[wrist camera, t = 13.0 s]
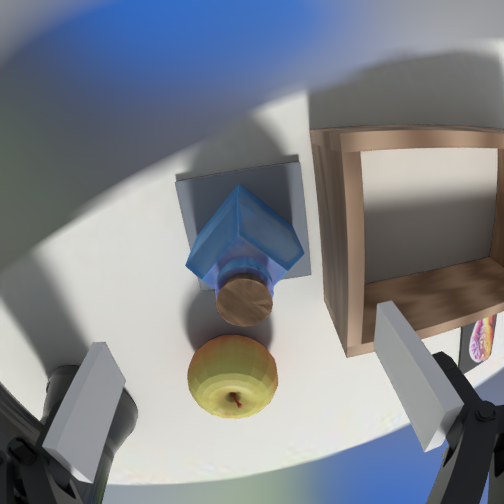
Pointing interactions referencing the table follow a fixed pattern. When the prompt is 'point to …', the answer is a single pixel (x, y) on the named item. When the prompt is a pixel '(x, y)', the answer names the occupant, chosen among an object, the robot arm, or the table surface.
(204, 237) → the perfume bottle
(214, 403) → the apple
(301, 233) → the slate mat
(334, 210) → the crate
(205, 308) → the table surface
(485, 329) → the smartphone
